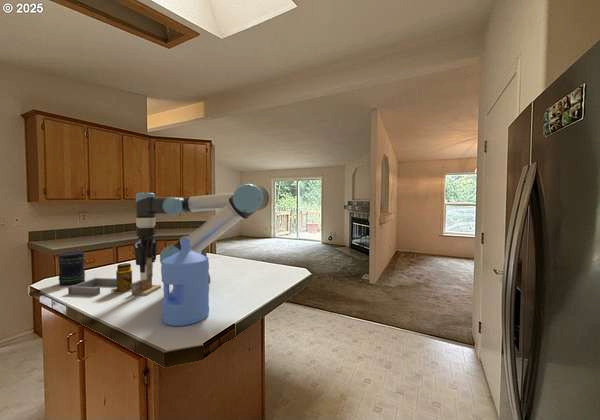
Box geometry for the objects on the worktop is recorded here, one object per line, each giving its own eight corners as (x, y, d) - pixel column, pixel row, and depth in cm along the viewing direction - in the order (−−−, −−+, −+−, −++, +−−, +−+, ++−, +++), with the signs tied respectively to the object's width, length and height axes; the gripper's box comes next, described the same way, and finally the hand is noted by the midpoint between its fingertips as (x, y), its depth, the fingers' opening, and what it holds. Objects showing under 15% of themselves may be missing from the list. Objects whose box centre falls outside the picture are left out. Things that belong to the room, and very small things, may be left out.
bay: (121, 284, 127) (121, 278, 127) (97, 295, 113) (96, 288, 113) (95, 283, 128) (95, 277, 128) (68, 294, 114) (68, 287, 114)
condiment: (133, 290, 119) (132, 265, 118) (110, 294, 114) (109, 267, 114) (133, 286, 125) (132, 261, 124) (111, 289, 120) (110, 264, 120)
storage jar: (54, 284, 126) (53, 254, 126) (77, 279, 135) (77, 250, 135) (66, 287, 123) (65, 256, 122) (89, 281, 132) (89, 252, 131)
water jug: (200, 304, 104) (199, 235, 103) (216, 318, 92) (215, 239, 91) (156, 315, 94) (155, 238, 93) (168, 332, 82) (167, 244, 81)
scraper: (160, 287, 123) (160, 256, 123) (146, 295, 113) (146, 261, 113) (146, 287, 124) (146, 255, 123) (131, 294, 114) (131, 260, 113)
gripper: (149, 225, 126) (150, 272, 127) (124, 228, 110) (125, 283, 111) (164, 225, 125) (165, 273, 126) (141, 228, 109) (142, 284, 110)
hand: (146, 277), depth 118 cm, fingers closed on scraper, 3 cm apart
